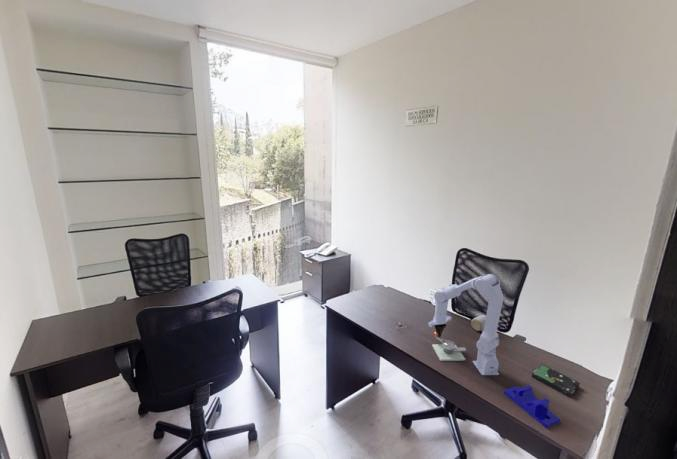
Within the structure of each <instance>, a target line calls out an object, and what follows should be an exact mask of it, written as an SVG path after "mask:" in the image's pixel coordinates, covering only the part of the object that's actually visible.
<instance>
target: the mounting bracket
mask: <svg viewBox="0 0 677 459" xmlns="http://www.w3.org/2000/svg"><path fill="white" fill-rule="evenodd" d="M532 388H533V387H532V385H531V386H530V385H526V386H523V387H519V386H517V385H516V386H513V387H510V388H508V389H505V390H504V391H503V394H504V395H505V396H506V397H508V399H510V400H511V401H513V402H514V403H515V404H516V405H518V406H519V407H520V408H521V409H522V410H523V409H524V410H523V411H525V412H526V413H527V414H528V415H530V417H532V418H533V419H534V418H535V419H534V420H536V421H537V423H539V424H540V423H541V425H542V426H543V427H544V428H545V429H548V427H549V428H550V427H553V426H555V425H557V423H558V424H559V422H560V423H561V418H560V417H558V416H557V415H556V414H554V413H553V412H552V411H550V410H549V404H550V399H548V398H547V397H545V398H544V399H541V400H540V399H538V398H537V397H536V395H535V394H534V393H533V390H532ZM554 424H555V425H554Z"/></svg>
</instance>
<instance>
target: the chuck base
mask: <svg viewBox="0 0 677 459" xmlns="http://www.w3.org/2000/svg"><path fill="white" fill-rule="evenodd" d="M431 346H432V348H433V351H434V352H435V353H436V356H437V357H438V359H439V361H440V362H446V361H448V362H449V361H450V362H451V361H452V362H453V361H454V362H457V361H463V362H464V361H466V358H465V356H464V355H463V354H462V352H466V351H467V349H466V347H458V346H457V344H455V350H453V351H448V350H446V349H444V348H443V347H442V344H441V343H439V344H437V343H434V344H432V345H431Z"/></svg>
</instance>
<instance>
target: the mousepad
mask: <svg viewBox="0 0 677 459" xmlns="http://www.w3.org/2000/svg"><path fill="white" fill-rule="evenodd" d="M394 324H395V325H396V323H394ZM402 325H403V326H402ZM396 328H397V329H398V330H400V329H401V330H402V329H407V328H408V327H407V325H404V324H403V323H402V322H398V323H397V325H396Z"/></svg>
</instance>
